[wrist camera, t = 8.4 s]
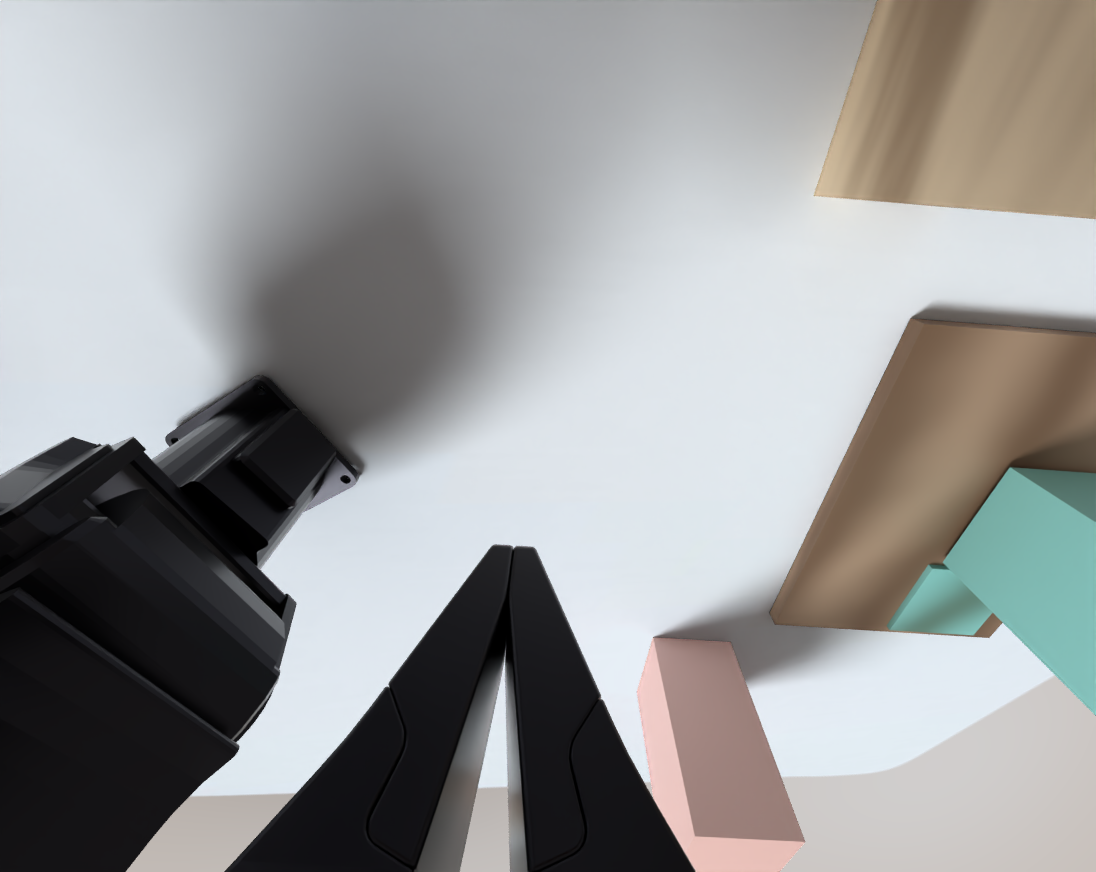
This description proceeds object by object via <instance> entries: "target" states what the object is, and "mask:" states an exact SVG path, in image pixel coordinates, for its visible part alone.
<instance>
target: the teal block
mask: <svg viewBox="0 0 1096 872" xmlns="http://www.w3.org/2000/svg"><path fill="white" fill-rule="evenodd" d="M943 563H944V564H945V565H946V566H947V567H948V568H949V569H950V570H951V571H952V572H953V573H954V574H955V575H956V576H957V577H958V578H959V579H960V580H961V581H962V582H963V583H964V584H965V585H966V586H967V587H968V588H969V589H970V590H971V591H972V592H973V593H974V594H975V595H976V596H977V597H978V598H979V599H980V600H981V601H982V602H983V603H984V604H985V605H986V606H987V607H988V608H989V609H990V610H991V611H992V612H993V613H994V614H995V615H996V616H997V617H998V618H999V619H1000V620H1001V621H1002V622H1003V623H1004V624H1005V625H1006V626H1007V627H1008V628H1009V629H1010V630H1011V631H1012V632H1013V633H1014V634H1015V635H1016V636H1017V637H1018V638H1019V639H1020V640H1021V641H1022V642H1023V643H1024V644H1025V645H1026V646H1027V647H1028V648H1029V649H1030V650H1031V651H1032V652H1033V653H1034V654H1035V655H1036V656H1037V657H1038V658H1039V659H1040V660H1041V661H1042V662H1043V663H1044V664H1045V665H1046V666H1047V667H1048V668H1049V669H1050V670H1051V671H1052V672H1053V673H1054V674H1055V675H1056V676H1057V677H1058V678H1059V679H1060V680H1061V681H1062V682H1063V683H1064V684H1065V685H1066V686H1067V687H1068V688H1069V689H1070V690H1071V691H1072V692H1073V693H1074V694H1075V695H1076V696H1077V697H1078V698H1079V699H1080V700H1081V701H1082V702H1083V703H1084V704H1085V705H1086V706H1087V707H1088V708H1089V709H1090V710H1091V711H1092V712H1093V713H1094V714H1095V715H1096V473H1084V472H1070V471H1056V470H1042V469H1028V468H1014V467H1010V468H1009V469H1008V471H1007V472H1006V473H1005V475H1004V476H1003V478H1002V479H1001V480H1000V482H999V483H998V485H997V486H996V488H995V489H994V490H993V492H992V493H991V495H990V496H989V497H988V499H987V500H986V502H985V503H984V504H983V506H982V507H981V509H980V510H979V512H978V513H977V514H976V516H975V517H974V519H973V520H972V521H971V523H970V524H969V526H968V527H967V529H966V530H965V531H964V533H963V534H962V536H961V537H960V538H959V540H958V541H957V543H956V544H955V545H954V547H953V548H952V550H951V551H950V553H949V554H948V555H947V557H946V558H945V560H944V561H943Z"/></svg>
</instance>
